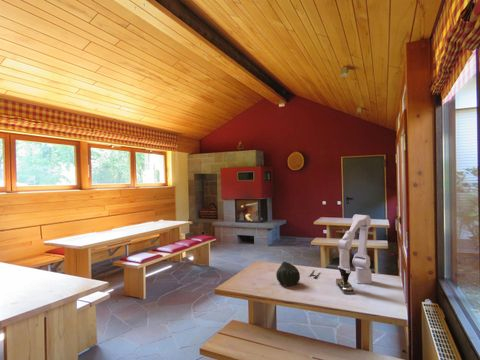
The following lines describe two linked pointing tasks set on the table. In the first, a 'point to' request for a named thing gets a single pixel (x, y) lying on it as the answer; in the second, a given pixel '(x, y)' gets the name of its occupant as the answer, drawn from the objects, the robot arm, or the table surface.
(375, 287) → the table surface
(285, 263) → the squash
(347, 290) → the chain ends
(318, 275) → the hacksaw
